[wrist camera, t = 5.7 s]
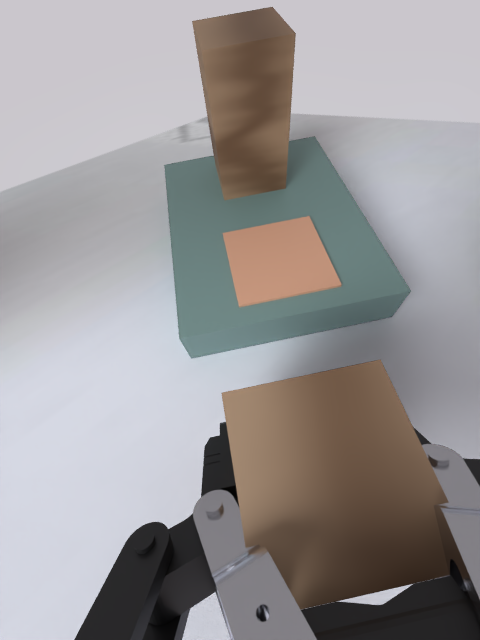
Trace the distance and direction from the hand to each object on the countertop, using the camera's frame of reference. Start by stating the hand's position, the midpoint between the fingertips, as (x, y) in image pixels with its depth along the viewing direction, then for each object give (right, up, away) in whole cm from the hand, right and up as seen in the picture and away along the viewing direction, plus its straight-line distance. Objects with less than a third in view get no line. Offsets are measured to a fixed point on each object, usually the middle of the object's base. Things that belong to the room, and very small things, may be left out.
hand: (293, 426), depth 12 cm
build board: (-1, +11, +11) cm, 16 cm away
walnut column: (-2, +17, +11) cm, 20 cm away
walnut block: (+1, -4, +3) cm, 5 cm away
